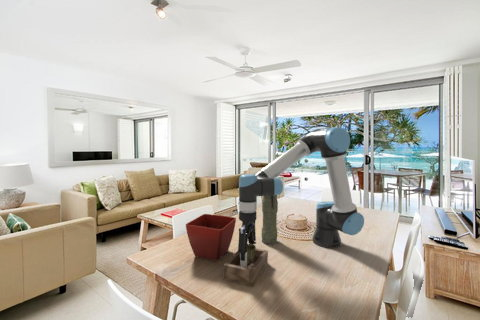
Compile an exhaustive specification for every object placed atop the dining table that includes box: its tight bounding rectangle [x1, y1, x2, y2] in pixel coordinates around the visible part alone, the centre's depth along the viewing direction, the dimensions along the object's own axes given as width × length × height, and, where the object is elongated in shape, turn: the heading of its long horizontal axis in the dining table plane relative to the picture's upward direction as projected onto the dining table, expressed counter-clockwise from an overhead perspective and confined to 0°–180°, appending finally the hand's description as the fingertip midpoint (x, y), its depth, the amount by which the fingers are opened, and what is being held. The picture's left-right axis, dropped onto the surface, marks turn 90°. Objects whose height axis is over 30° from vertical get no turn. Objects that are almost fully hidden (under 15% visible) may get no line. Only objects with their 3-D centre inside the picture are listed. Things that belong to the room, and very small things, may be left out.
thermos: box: [261, 195, 279, 245], centre depth 134 cm, size 9×12×35 cm
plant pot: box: [185, 213, 237, 262], centre depth 118 cm, size 19×19×17 cm
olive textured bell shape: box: [239, 242, 257, 266], centre depth 101 cm, size 8×7×8 cm
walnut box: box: [223, 247, 269, 287], centre depth 102 cm, size 13×20×6 cm, turn 157°
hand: (247, 262), depth 102 cm, fingers open, 8 cm apart
